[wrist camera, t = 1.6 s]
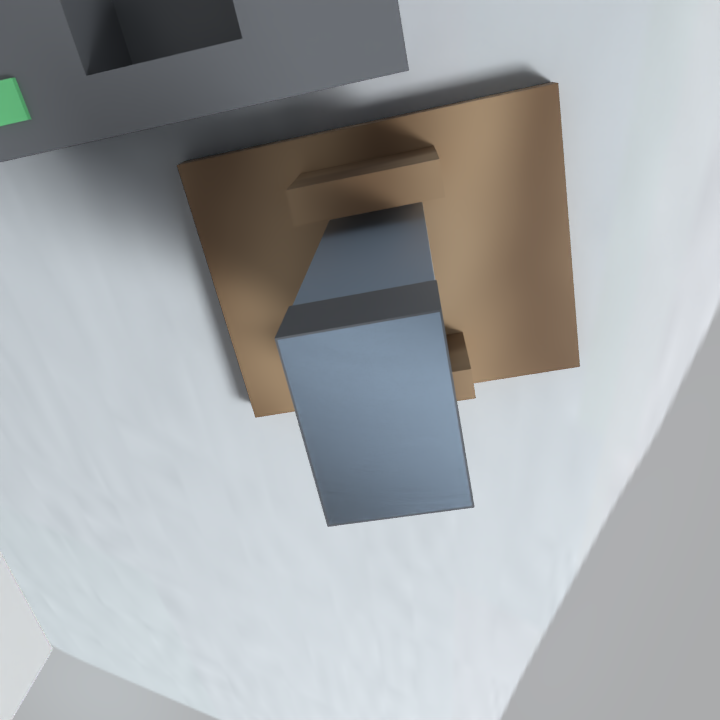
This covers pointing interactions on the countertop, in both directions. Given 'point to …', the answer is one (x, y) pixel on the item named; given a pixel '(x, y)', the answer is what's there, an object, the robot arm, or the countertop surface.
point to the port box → (175, 61)
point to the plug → (375, 373)
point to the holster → (443, 221)
